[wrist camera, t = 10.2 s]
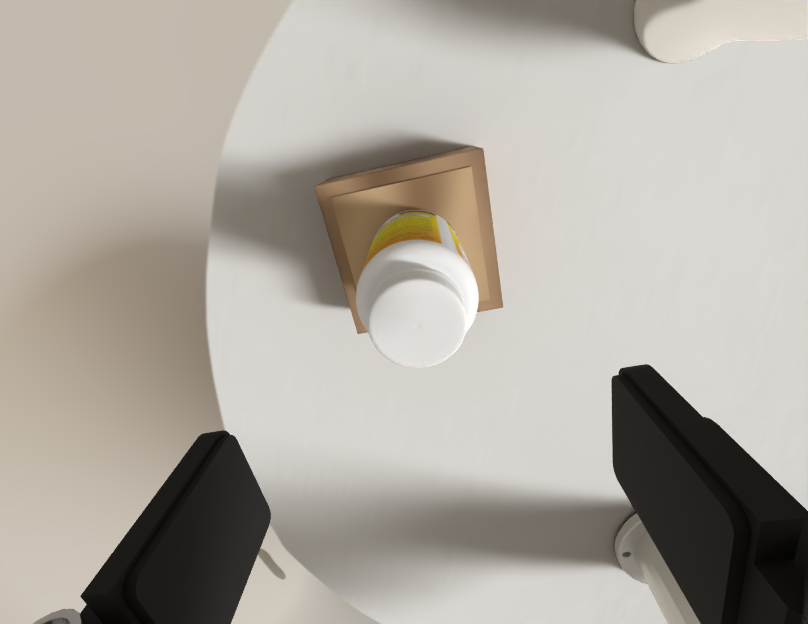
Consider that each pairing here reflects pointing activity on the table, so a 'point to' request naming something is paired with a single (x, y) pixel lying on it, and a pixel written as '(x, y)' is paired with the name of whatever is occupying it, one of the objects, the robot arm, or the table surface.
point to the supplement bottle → (417, 290)
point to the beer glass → (714, 25)
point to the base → (413, 190)
